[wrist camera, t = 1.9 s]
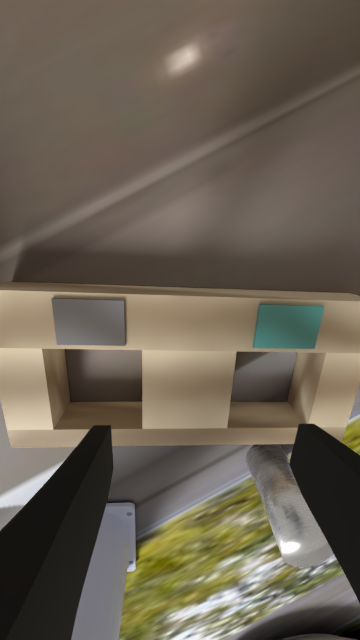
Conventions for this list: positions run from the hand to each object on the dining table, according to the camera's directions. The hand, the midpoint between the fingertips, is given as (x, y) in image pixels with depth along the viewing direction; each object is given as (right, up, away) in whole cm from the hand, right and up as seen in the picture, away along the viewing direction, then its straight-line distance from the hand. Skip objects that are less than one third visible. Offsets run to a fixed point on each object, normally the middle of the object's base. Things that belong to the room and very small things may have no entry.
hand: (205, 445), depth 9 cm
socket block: (-1, +2, +9) cm, 9 cm away
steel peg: (+7, -8, +13) cm, 17 cm away
